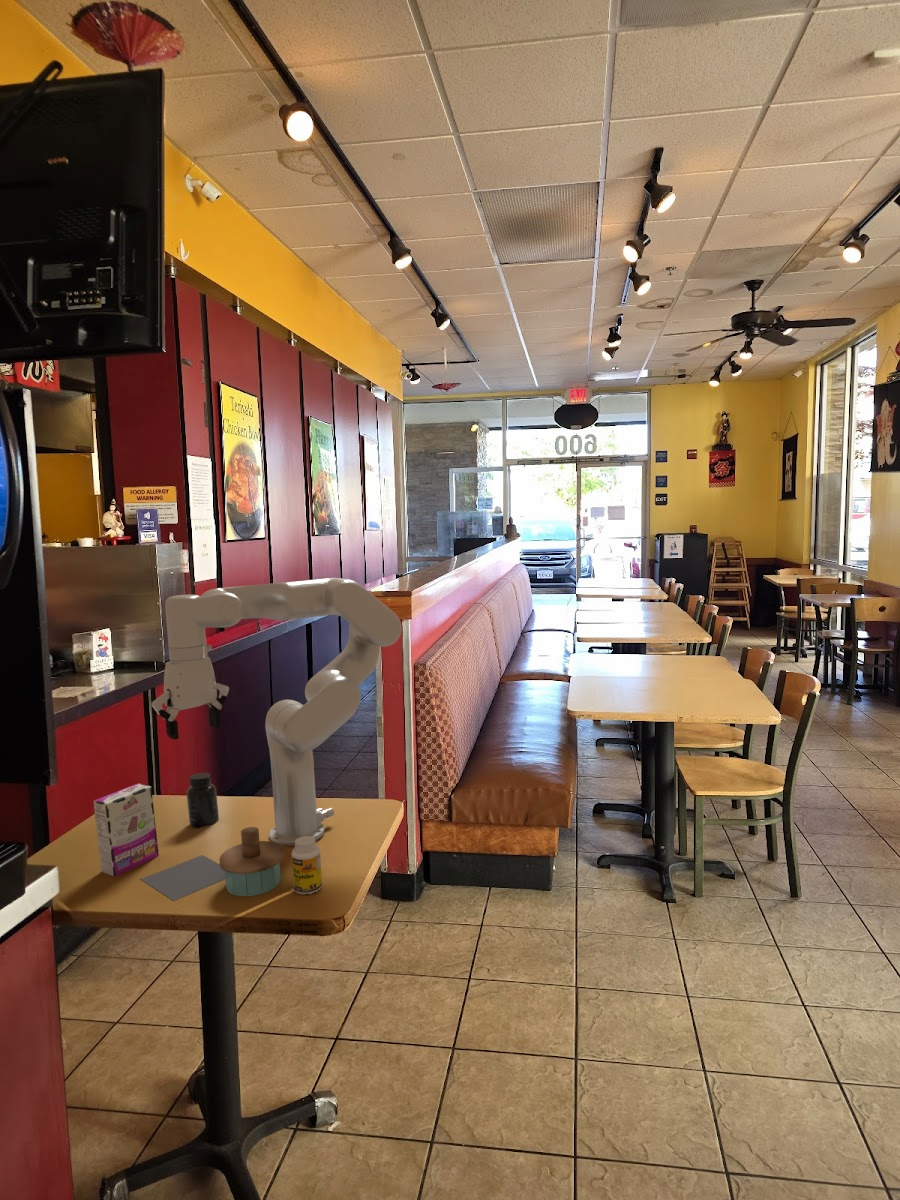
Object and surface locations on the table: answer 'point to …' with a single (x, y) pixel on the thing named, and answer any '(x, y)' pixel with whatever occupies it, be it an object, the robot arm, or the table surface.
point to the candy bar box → (126, 829)
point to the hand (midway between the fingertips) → (194, 732)
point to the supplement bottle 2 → (306, 866)
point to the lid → (251, 854)
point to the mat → (186, 877)
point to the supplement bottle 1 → (202, 801)
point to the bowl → (253, 881)
